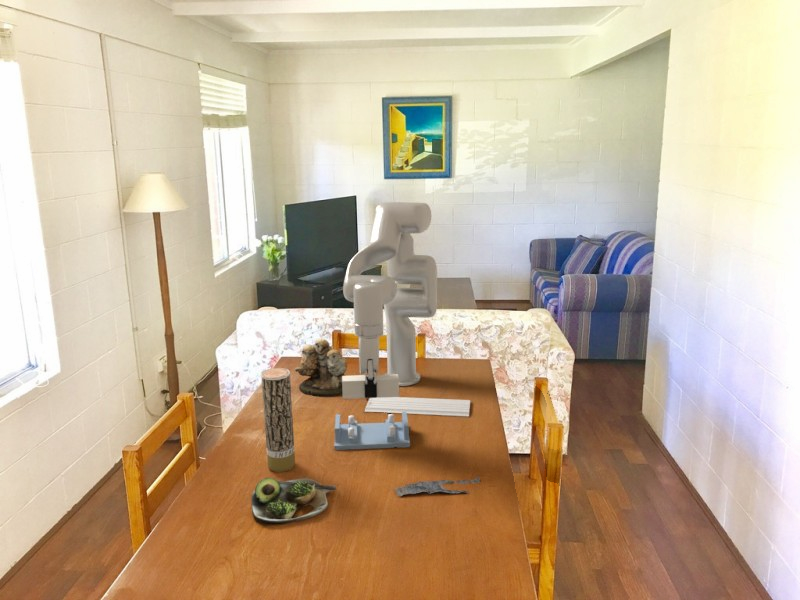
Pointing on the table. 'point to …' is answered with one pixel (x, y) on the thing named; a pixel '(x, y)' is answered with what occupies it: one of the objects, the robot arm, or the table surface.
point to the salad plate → (287, 499)
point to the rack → (371, 434)
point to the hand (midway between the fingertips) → (370, 393)
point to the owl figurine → (322, 370)
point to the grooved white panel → (419, 406)
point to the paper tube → (278, 419)
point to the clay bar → (356, 387)
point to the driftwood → (431, 487)
